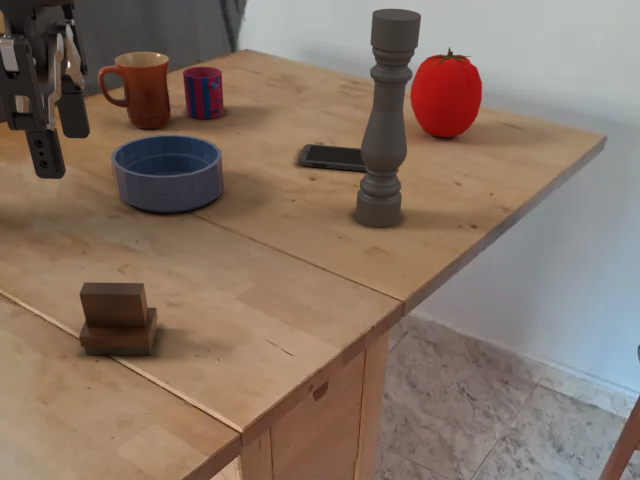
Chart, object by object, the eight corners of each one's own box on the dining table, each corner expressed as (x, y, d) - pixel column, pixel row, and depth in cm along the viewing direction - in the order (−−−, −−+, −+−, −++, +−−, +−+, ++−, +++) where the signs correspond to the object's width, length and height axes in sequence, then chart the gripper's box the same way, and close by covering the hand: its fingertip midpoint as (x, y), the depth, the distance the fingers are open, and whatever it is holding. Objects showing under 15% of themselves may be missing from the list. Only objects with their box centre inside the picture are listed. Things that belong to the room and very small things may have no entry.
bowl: (95, 199, 98) (87, 161, 94) (162, 163, 107) (157, 127, 104) (182, 226, 93) (177, 186, 89) (243, 185, 102) (242, 148, 99)
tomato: (461, 152, 115) (476, 66, 106) (394, 137, 119) (403, 53, 110) (485, 131, 122) (500, 49, 113) (421, 117, 126) (431, 37, 117)
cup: (217, 104, 128) (215, 65, 123) (234, 123, 121) (232, 81, 117) (182, 108, 126) (178, 68, 121) (197, 127, 119) (194, 85, 115)
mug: (168, 112, 124) (161, 49, 117) (182, 129, 118) (175, 64, 111) (101, 120, 120) (90, 55, 113) (112, 137, 115) (100, 71, 108)
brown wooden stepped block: (83, 356, 71) (70, 302, 67) (94, 325, 75) (82, 273, 71) (151, 357, 71) (142, 303, 67) (159, 326, 75) (151, 274, 71)
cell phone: (384, 173, 107) (385, 168, 107) (297, 165, 108) (297, 160, 108) (388, 155, 112) (388, 150, 112) (304, 147, 114) (304, 143, 113)
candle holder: (372, 231, 93) (391, 23, 76) (346, 213, 97) (359, 11, 80) (408, 221, 96) (434, 17, 79) (382, 203, 100) (402, 6, 82)
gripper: (-9, -97, 52) (44, 124, 63) (-88, -68, 41) (-8, 191, 52) (91, -93, 52) (126, 126, 63) (38, -64, 42) (91, 193, 53)
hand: (65, 156), depth 58 cm, fingers open, 8 cm apart
